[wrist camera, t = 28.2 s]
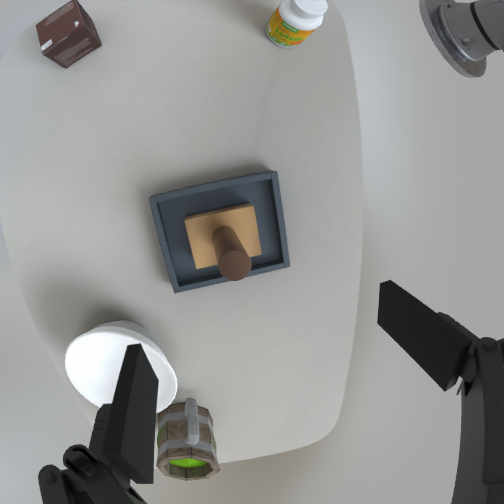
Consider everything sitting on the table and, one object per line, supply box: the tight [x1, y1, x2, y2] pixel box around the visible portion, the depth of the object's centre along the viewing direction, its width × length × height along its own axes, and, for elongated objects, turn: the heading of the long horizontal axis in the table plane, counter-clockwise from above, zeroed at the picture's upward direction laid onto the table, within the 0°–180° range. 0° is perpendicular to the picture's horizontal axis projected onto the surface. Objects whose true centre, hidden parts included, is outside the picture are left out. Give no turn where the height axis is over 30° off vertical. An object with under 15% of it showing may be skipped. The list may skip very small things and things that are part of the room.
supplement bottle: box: [266, 0, 327, 48], centre depth 24 cm, size 5×5×10 cm
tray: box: [149, 171, 290, 293], centre depth 35 cm, size 16×13×2 cm
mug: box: [156, 398, 220, 481], centre depth 39 cm, size 16×11×12 cm
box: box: [36, 0, 102, 68], centre depth 20 cm, size 6×6×7 cm
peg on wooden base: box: [185, 202, 262, 281], centre depth 29 cm, size 8×6×12 cm
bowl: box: [65, 320, 177, 413], centre depth 34 cm, size 16×16×9 cm
